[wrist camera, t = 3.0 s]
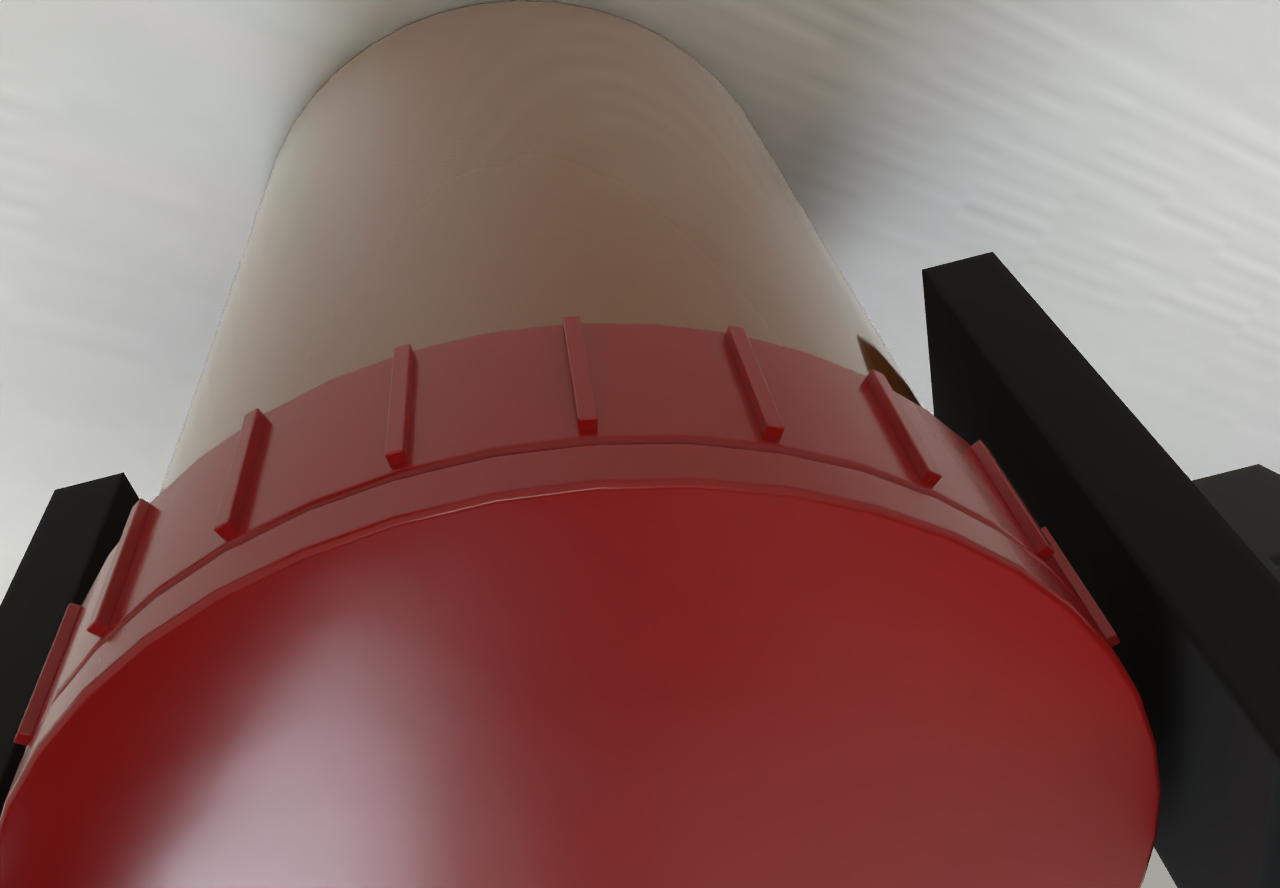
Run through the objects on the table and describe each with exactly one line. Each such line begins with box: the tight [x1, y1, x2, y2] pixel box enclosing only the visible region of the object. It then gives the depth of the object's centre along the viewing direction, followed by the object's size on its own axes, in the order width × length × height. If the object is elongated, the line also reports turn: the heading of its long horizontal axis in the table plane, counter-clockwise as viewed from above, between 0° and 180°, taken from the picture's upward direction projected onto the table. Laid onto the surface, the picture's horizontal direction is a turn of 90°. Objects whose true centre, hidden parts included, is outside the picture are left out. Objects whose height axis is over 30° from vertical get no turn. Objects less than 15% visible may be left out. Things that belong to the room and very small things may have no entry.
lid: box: [0, 316, 1161, 888], centre depth 9 cm, size 8×8×2 cm
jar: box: [159, 1, 923, 495], centre depth 13 cm, size 8×8×10 cm
